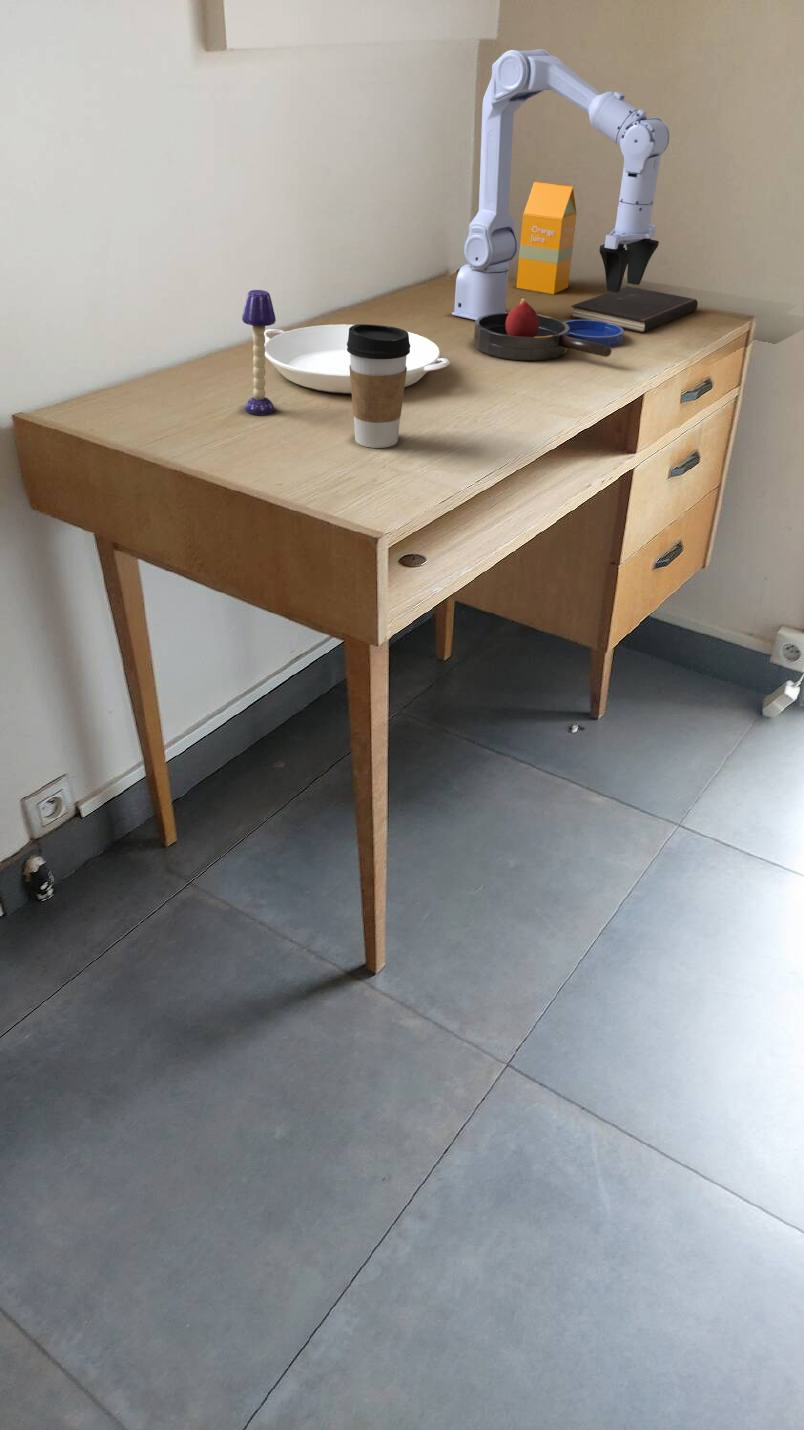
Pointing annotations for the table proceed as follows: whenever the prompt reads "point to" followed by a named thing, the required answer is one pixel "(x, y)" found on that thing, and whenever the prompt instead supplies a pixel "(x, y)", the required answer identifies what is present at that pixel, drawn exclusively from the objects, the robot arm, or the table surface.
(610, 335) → the saucer
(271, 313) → the toy lamp
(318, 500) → the table surface
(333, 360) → the pan
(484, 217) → the robot arm
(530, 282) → the orange juice
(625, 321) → the hardcover book
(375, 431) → the coffee cup
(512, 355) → the frying pan
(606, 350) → the pan handle
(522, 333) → the onion
